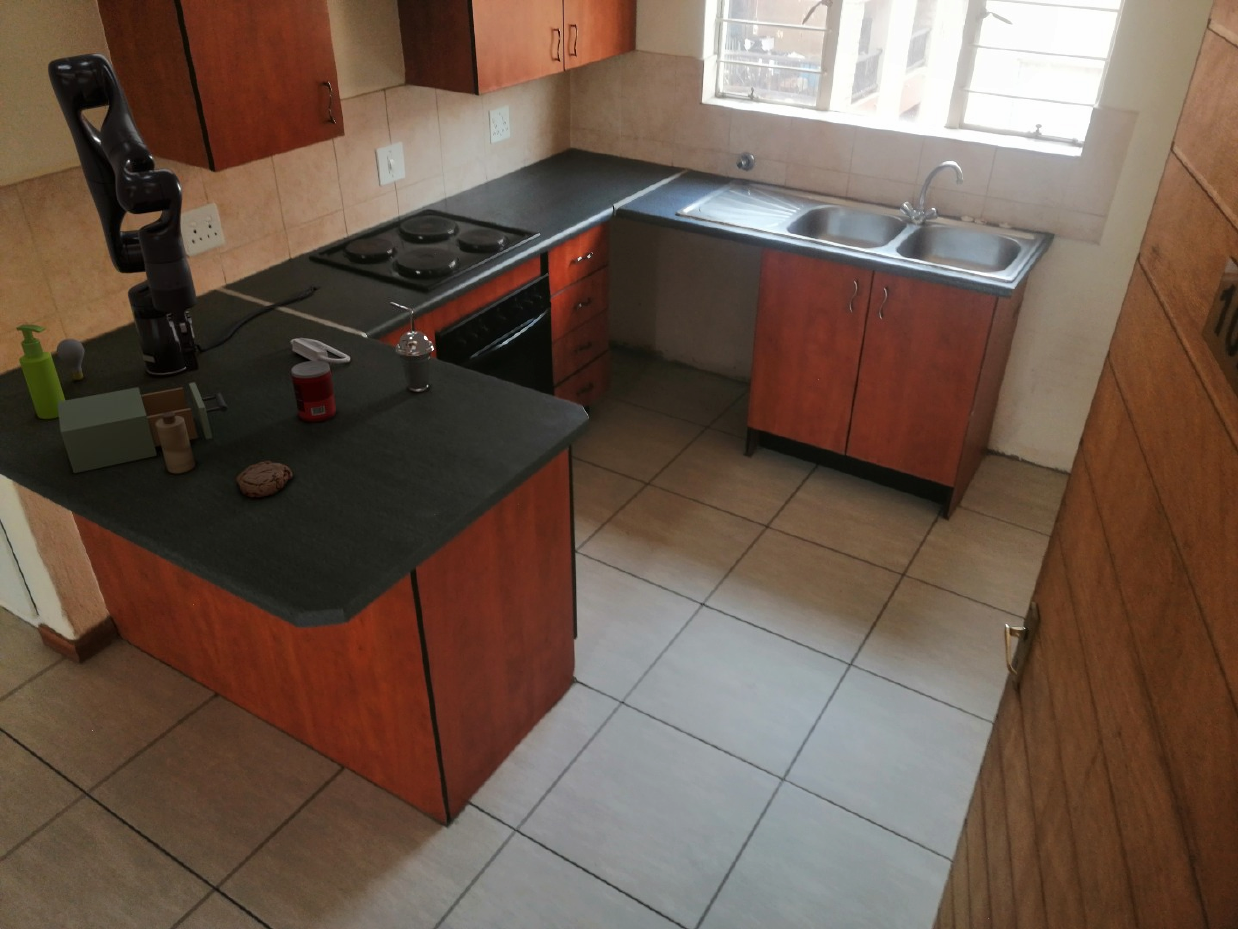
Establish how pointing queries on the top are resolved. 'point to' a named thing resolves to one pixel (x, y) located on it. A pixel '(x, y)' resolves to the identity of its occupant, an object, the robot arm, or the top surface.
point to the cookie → (263, 479)
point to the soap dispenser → (40, 374)
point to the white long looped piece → (316, 350)
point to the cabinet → (105, 429)
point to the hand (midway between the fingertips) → (189, 362)
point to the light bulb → (72, 356)
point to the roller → (175, 443)
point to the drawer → (180, 409)
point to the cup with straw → (415, 355)
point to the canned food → (313, 390)
